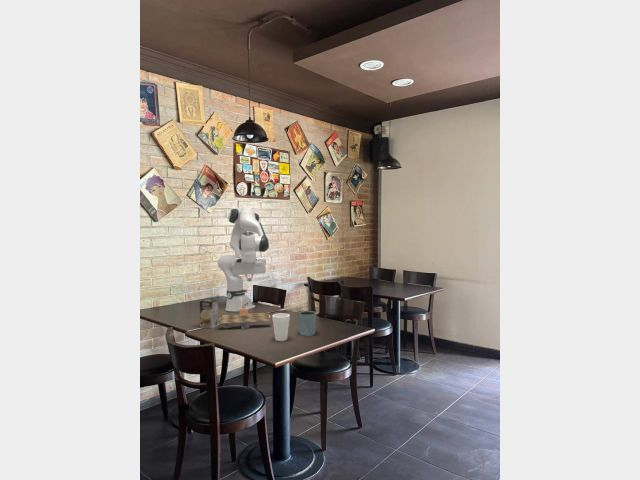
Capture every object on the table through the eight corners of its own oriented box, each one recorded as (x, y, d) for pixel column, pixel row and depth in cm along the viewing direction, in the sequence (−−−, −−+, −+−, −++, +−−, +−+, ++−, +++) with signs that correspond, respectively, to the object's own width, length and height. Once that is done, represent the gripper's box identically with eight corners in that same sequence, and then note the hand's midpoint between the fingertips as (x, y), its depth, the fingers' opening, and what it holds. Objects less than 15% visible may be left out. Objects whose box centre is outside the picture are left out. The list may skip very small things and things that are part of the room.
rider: (248, 315, 239) (247, 305, 239) (248, 318, 233) (248, 307, 232) (239, 316, 238) (239, 305, 238) (239, 318, 232) (239, 308, 231)
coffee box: (199, 327, 237) (198, 300, 236) (205, 324, 243) (205, 298, 242) (212, 328, 234) (212, 301, 233) (218, 325, 240) (218, 299, 239)
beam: (269, 324, 243) (269, 312, 242) (270, 327, 235) (270, 315, 235) (219, 327, 236) (219, 314, 236) (219, 330, 229) (218, 318, 228)
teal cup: (303, 337, 215) (302, 315, 215) (295, 332, 224) (295, 311, 224) (319, 334, 220) (319, 313, 219) (311, 330, 229) (311, 309, 228)
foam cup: (272, 336, 216) (272, 313, 216) (289, 336, 217) (289, 313, 216) (272, 342, 207) (272, 317, 206) (289, 341, 208) (289, 317, 207)
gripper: (265, 257, 246) (266, 279, 247) (231, 258, 242) (232, 281, 243) (266, 258, 240) (266, 281, 241) (231, 260, 235) (232, 283, 237)
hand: (249, 281), depth 242 cm, fingers closed
